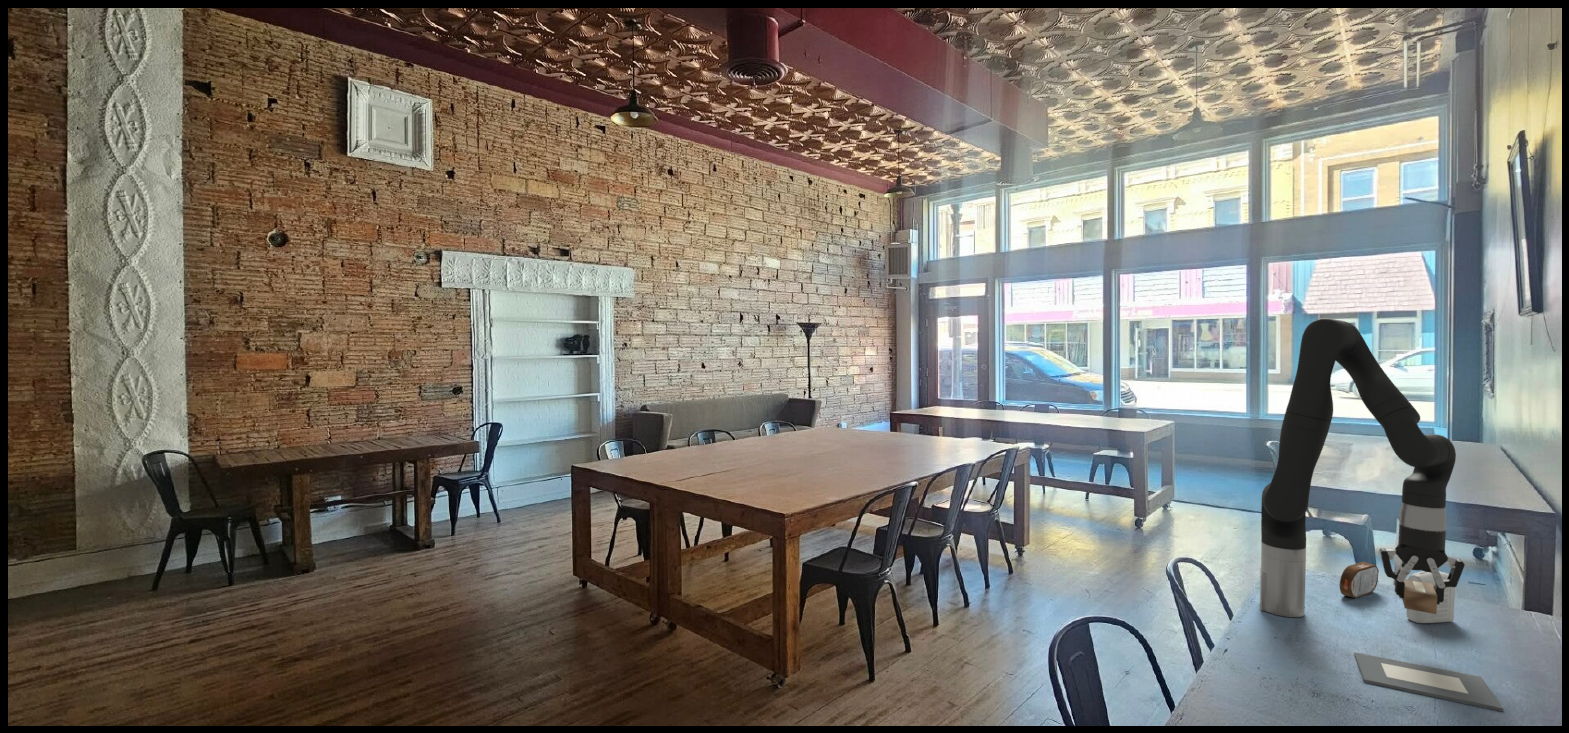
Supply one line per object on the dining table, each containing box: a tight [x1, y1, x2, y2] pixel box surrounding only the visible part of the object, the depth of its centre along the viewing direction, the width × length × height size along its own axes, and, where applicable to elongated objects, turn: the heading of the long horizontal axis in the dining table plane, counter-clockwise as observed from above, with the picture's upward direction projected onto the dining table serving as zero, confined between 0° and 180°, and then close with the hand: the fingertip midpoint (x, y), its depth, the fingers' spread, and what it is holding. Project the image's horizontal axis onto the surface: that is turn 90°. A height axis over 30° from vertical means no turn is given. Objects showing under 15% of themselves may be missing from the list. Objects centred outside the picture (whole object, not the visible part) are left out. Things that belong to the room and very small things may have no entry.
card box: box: [1401, 578, 1437, 614], centre depth 150 cm, size 5×9×4 cm, turn 141°
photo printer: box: [1406, 570, 1456, 624], centre depth 167 cm, size 10×4×12 cm, turn 98°
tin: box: [1339, 561, 1379, 599], centre depth 183 cm, size 15×3×8 cm, turn 116°
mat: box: [1353, 651, 1504, 712], centre depth 138 cm, size 20×14×1 cm
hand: (1418, 600), depth 150 cm, fingers closed on card box, 5 cm apart
